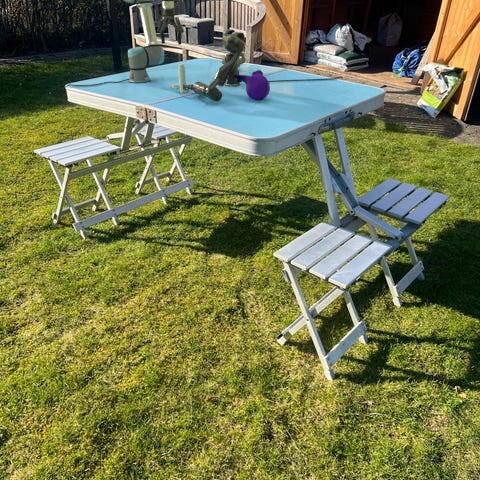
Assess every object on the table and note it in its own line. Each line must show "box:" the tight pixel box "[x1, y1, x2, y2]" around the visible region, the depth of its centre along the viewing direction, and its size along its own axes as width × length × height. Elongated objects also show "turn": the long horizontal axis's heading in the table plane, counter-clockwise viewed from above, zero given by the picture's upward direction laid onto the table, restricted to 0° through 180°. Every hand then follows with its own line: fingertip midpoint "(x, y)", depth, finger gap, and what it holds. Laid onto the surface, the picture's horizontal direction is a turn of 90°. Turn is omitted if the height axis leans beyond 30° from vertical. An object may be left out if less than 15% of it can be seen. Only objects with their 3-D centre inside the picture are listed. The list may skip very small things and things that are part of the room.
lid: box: [171, 83, 180, 90], centre depth 316 cm, size 5×5×2 cm
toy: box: [233, 69, 271, 102], centre depth 280 cm, size 16×18×27 cm
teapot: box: [221, 52, 246, 69], centre depth 368 cm, size 21×12×15 cm, turn 120°
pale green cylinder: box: [177, 63, 188, 94], centre depth 299 cm, size 4×4×18 cm
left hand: (171, 44), depth 302 cm, fingers open, 13 cm apart
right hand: (189, 84), depth 293 cm, fingers open, 8 cm apart
